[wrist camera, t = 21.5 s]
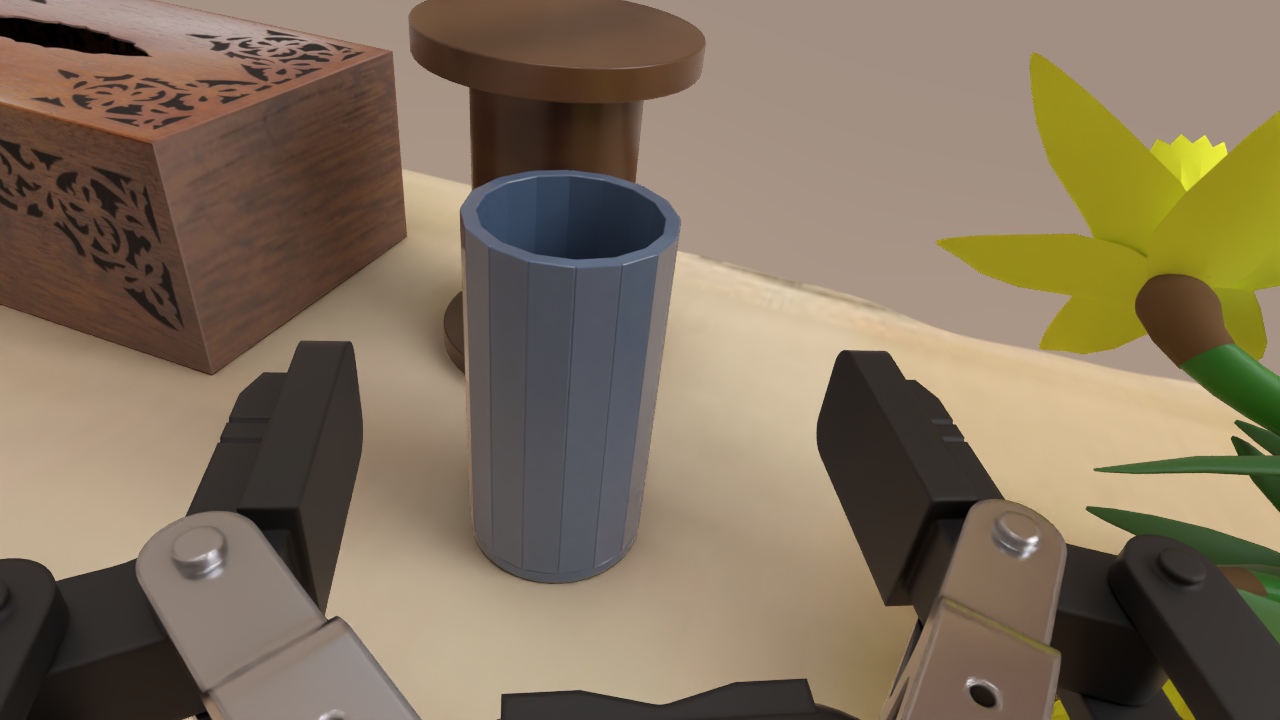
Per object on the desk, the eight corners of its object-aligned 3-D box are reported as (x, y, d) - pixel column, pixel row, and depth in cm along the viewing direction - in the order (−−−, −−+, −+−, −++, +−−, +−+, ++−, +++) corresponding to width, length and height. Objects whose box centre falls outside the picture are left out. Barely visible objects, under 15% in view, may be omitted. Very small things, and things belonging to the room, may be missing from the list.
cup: (435, 535, 28) (413, 219, 21) (534, 440, 33) (542, 153, 26) (583, 612, 26) (612, 291, 19) (667, 500, 31) (715, 207, 24)
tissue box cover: (406, 236, 45) (392, 51, 40) (212, 374, 34) (152, 143, 28) (48, 139, 51) (-10, -35, 45) (-221, 230, 40) (-344, 13, 34)
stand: (377, 351, 36) (340, 16, 28) (519, 257, 45) (523, -23, 36) (587, 443, 33) (615, 90, 25) (700, 323, 41) (749, 28, 33)
